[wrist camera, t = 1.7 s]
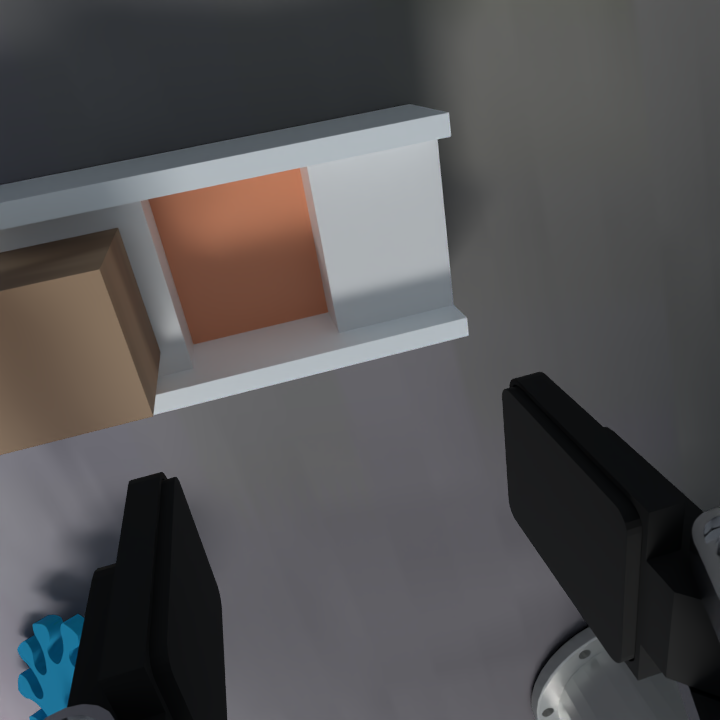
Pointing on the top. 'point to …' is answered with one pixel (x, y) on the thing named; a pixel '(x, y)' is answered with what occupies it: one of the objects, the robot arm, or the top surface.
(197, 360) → the trough
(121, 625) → the robot arm
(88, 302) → the block
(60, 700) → the gear
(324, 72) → the top surface
